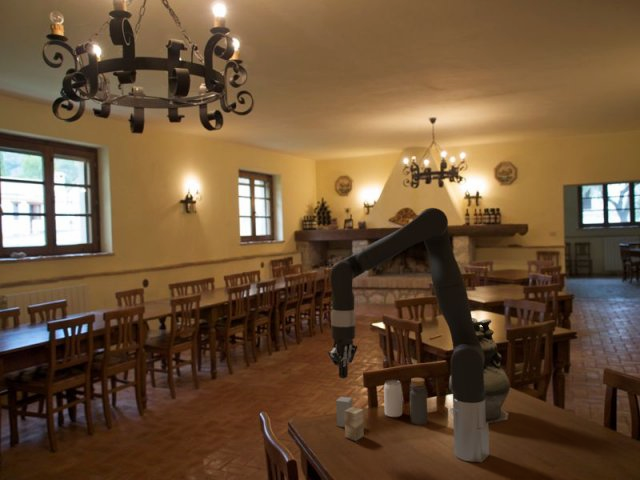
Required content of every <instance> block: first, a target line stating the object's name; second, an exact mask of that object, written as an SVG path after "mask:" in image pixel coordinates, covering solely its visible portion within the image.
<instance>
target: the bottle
mask: <svg viewBox="0 0 640 480" xmlns="http://www.w3.org/2000/svg"><path fill="white" fill-rule="evenodd" d="M410 379H411V383H410V388H411V389H410V391H409V404H410V405H409V409H410V411H409V413H410V423H412V424H413V425H422V426H423V425H425V424H427V423H428V398H427V397H428V396H427V395H428V392H427V391H426V390H425V389H426V383H425V378H423V377H413V378H410Z"/></svg>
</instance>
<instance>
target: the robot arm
mask: <svg viewBox="0 0 640 480" xmlns="http://www.w3.org/2000/svg"><path fill="white" fill-rule="evenodd" d="M448 225H449V220H448V216H447V214H446V213H445V212H444V211H443V210H441V209H439V208H436V207H429V208H426V209H423V211H421V213H419V214H418V215H417V216H416V217H414V218H413V219H412V220H411V221H409V222H408V223H407V224H405V225H404V226H402V227H401V228H399V229H398V230H395V231H393V232H392V233H390V234H388V235H386V236H384V237H382V238H380V239H378V240H376V241H374V242H372V243H370V244H369V245H367V246H365V247H363V248H361V249H359V250H358V251H357V252H356V253H353V254H352V255H349V256H347V257H346V258H343V259H342V260H340V261H337V262H335V263H334V264H333V265H332V267H331V269H330V287H331V293H332V297H331V298H332V299H331V302H332V303H331V309H332V310H331V318H330V319H331V322H330V323H331V324H330V325H331V326H330V327H331V338H332V339H333V341H334V342H333V345H332V347H333V348H332V350H329V351H328V356H329V358H330V359H331V361H332V363H333V364H334V365H335V366H338V377H339V378H340V379H346V378H348V373H349V372H348V370H349V369H348V368H349V365H350V363H351V364H352V363H353V360H354V358H355V355H356V353H357V350H358V345H355V344H354V339H355V337H356V313H355V294H354V292H353V280H354V279H355V278H357V277H359V276H361V275H362V274H364V273H365V272H368V271H370V270H373V269H376V268H377V267H378V266H380V265H382V264H384V263H386V262H387V261H390V260H391V259H392V258H394V257H395V256H397V255H399V254H401V252H403V251H405V250H406V249H409V248H410V247H412V246H415V245H416V244H419V243H421V242H423V243H424V245H425V248H426V252H427V254H428V258H429V259H428V260H429V269H430V275H431V276H430V277H431V282H432V283H431V284H432V287H433V292H434V295H435V299H436V302H437V305H438V307H439V310H440V311H441V314H442V316H443V318H444V320H445V322H446V324H447V326H448V330H449V333H450V337H451V342H452V350H453V351H452V354H451V356H450V357H451V358H450V376H451V384H452V391H453V394H452V403H453V404H452V406H453V407H452V408H453V442H454V446H453V448H454V450H453V451H454V455H455V457H456V458H458V459H460V460H462V461H466V462H478V463H483V462H484V461H485V460H486V459H487V458H488V457H489V456H490V440H489V439H490V434H489V423H486V415H485V389H484V361H485V357H484V353H483V350H482V348H481V345H480V343H479V340H478V337H477V335H476V332H475V329H474V326H473V322H472V318H473V317H472V311H471V305H470V301H469V296H468V293H467V288H466V284H465V281H464V277H463V274H462V272H461V269H460V266H459V264H458V262H457V260H456V257H455V255H454V253H453V252H454V251H453V248H452V245H451V240H450V232H449V226H448ZM452 391H451V392H452Z"/></svg>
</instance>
